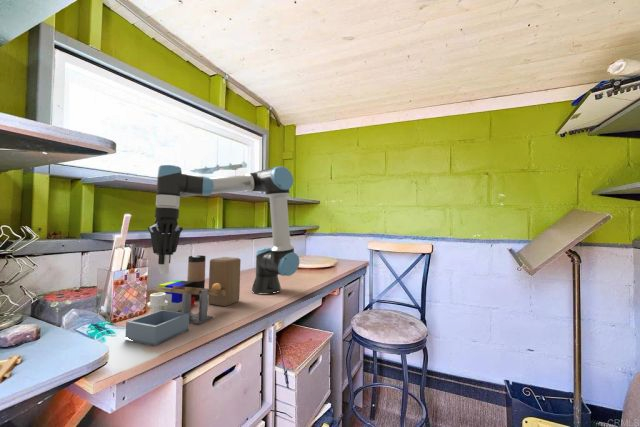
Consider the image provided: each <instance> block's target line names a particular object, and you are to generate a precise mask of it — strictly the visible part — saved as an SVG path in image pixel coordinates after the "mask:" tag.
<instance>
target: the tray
mask: <svg viewBox="0 0 640 427" xmlns="http://www.w3.org/2000/svg"><path fill="white" fill-rule="evenodd" d="M125 322H126V323H125V337H128V338H129V339H131V340H133V341H134V342H133V343H135V344H141V345H146V346H149V347H156V346H159V345H160V344H162V343H165V342H166V341H167V342H168V340H170V339H173V338H176V337H177V336H180V335H182V334H184V333H187V332H188V331H189V330H190V328H189V327H190V326H189V325H190V323H189V314H188V313H182V311H171V310H160V311H157V312H154V313H152V312H151V313H149V314H145V315H141V316H140V317H136V318H133V319H130V320H127V321H125Z"/></svg>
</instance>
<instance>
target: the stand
mask: <svg viewBox="0 0 640 427" xmlns="http://www.w3.org/2000/svg"><path fill="white" fill-rule="evenodd" d="M208 289H209V288H206V289H204V290H201V291H200V297H199V300H198V303H199V304H198V313H193V312H191V309H192V308H191V307H192V306H191V294H183V296H182V310H181V312H182V313H188V314H189V324H192V325H197V326H199V325H200V326H201V325H202V324H204V323H206V322H208V321H211V320H212V319H214V316H212V315H208V309H209V308H208V307H209V306H208V305H209V303H208Z"/></svg>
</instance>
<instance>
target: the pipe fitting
mask: <svg viewBox="0 0 640 427" xmlns="http://www.w3.org/2000/svg"><path fill="white" fill-rule="evenodd" d="M165 296H166V293H158V292H154V293H151V294H150V295H149V302H147V303H146V305H147V306H146V307H148V308H151V310H152V312H151V313H154V312H157V311H160V310H162V306H165V305H168V302H167V301H166V300H165Z"/></svg>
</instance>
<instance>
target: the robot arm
mask: <svg viewBox="0 0 640 427" xmlns="http://www.w3.org/2000/svg"><path fill="white" fill-rule="evenodd" d="M293 177H294V176H293V174H292V172H291V171H290V170H289V169H288V168H287V167H285V166H281V165H279V166H273V167H269V168H266V169H262V170H258V171H254V172H247V173H246V174H245V175H232V176H215V177H213V176H212V177H207V176H205V175H203V176H202V175H196V174H190V173H189V174H188V173H184V172H183V171H182V168H181V167H180V166H179V165H174V164H161V165H159V166H158V169H157V176H156V194H155V195H156V196H155V206H156V207H155V208H154V209H155V210H154V211H155V212H154V217H155V221H154V224H153V225H152V226H148V227H147V230H148V232H149V235H150V239H151V240H150V241H151V245H152V247H151V248H152V251H153V252H152V253H153V254H155V255H157V256H158V265H159V268H158V269H159V270H158V273H159V274H161V275H163V274H164V275H166V274H169V270H170V268H169V267H170V263H171V256H172V255H174V253H176V252H177V248H178V244H179V242H180V237H181V233H182V231H183V229H184V227H182V226H179V224H178V223H179V222H178V219H179V217H180V209H179V208H180V199H181V198H187V197H194V196H195V197H196V196H203V197H204V196H205V197H206V196H207V197H209V196H211V195H213V194H214V195H215V194H223V193H235V192H243V191H246V192H248V193H253V192H255V193H257V192H259V193H260V192H261V193H264V192H265V195H266V196H267V198H269V207H270V220H271V231H272V232H271V233H272V247H266V248H259V249H257V250H256V254H255V278H254V281H253V283H252V287H251V292H252V291H253V292H254V293H253V292H252V293H253V294H255V293H273V292H277V291H280V290H281V288H282V287H281V282H280V279H279V277H278V275H280V276H282V277H285V276H287V277H290V276H292V275H294V274H295V273H296V272H297V270H298V269H299V266H300V257H299V255H298V253H296V252H295V247H294V246H293V245H292V244H291V237H290V236H291V235H290V234H291V233H290V223H289V222H290V221H289V210H288V208H289V207H288V196H289V195H290V189H291V188H292V186H293V185H294V178H293ZM281 291H282V290H281ZM281 291H280V292H281Z"/></svg>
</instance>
